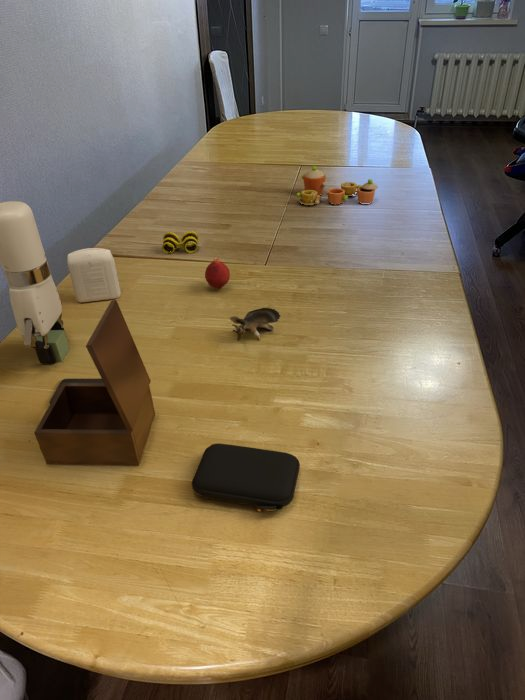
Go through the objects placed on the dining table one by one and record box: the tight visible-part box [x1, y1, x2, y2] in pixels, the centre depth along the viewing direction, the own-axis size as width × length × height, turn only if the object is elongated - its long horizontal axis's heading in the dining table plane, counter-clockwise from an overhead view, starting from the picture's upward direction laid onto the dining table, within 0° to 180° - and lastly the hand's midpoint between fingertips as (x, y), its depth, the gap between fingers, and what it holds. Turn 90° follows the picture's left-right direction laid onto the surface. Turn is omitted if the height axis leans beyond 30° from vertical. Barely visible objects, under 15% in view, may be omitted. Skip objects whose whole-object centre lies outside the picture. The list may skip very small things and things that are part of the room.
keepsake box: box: [33, 383, 156, 467], centre depth 82 cm, size 15×12×7 cm
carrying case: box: [191, 442, 301, 513], centre depth 75 cm, size 11×3×15 cm
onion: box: [204, 257, 231, 290], centre depth 122 cm, size 6×6×8 cm
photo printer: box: [66, 247, 122, 303], centre depth 119 cm, size 10×4×12 cm, turn 102°
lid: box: [85, 299, 152, 432], centre depth 75 cm, size 16×12×1 cm
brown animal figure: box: [229, 307, 282, 341], centre depth 106 cm, size 8×7×9 cm
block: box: [36, 329, 70, 362], centre depth 103 cm, size 4×4×4 cm
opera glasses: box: [161, 230, 199, 255], centre depth 141 cm, size 10×5×5 cm, turn 92°
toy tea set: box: [295, 165, 379, 206], centre depth 169 cm, size 26×16×10 cm, turn 85°
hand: (54, 352), depth 104 cm, fingers open, 5 cm apart
